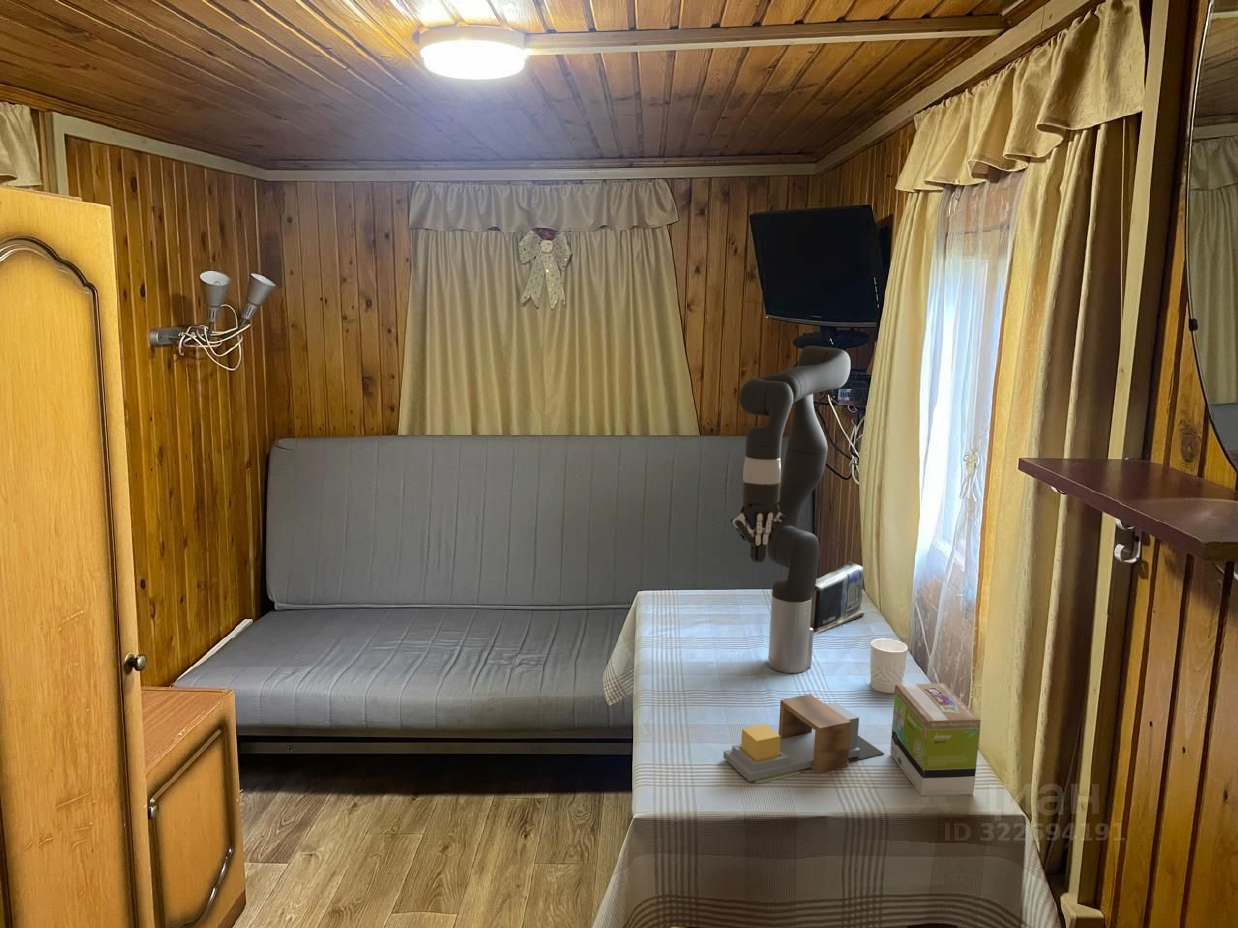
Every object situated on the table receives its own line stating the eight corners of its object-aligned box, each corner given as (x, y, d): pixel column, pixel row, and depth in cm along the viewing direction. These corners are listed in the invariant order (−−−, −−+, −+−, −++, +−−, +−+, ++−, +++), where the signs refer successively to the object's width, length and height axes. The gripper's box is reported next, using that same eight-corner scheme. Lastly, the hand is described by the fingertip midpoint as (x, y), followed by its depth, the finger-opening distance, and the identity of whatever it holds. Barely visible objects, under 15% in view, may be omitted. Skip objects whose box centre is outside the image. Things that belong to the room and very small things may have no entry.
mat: (768, 748, 170) (768, 747, 170) (799, 773, 161) (799, 772, 161) (728, 757, 167) (728, 756, 167) (757, 783, 158) (757, 782, 158)
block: (763, 748, 167) (765, 723, 166) (778, 761, 162) (780, 735, 161) (740, 753, 165) (742, 728, 164) (755, 766, 160) (756, 740, 159)
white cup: (906, 683, 201) (909, 642, 199) (901, 697, 194) (905, 654, 192) (870, 677, 204) (874, 636, 203) (864, 690, 197) (868, 647, 196)
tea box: (887, 754, 169) (893, 681, 167) (938, 753, 170) (945, 681, 168) (920, 797, 155) (927, 718, 152) (975, 796, 156) (983, 717, 153)
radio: (812, 636, 229) (816, 581, 226) (788, 626, 236) (791, 572, 233) (870, 619, 243) (874, 566, 240) (845, 610, 250) (849, 559, 247)
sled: (830, 734, 176) (832, 699, 174) (859, 755, 168) (862, 719, 166) (723, 757, 166) (725, 721, 164) (749, 781, 158) (751, 743, 156)
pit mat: (850, 730, 178) (850, 729, 178) (883, 754, 169) (883, 753, 169) (817, 737, 175) (817, 736, 175) (850, 761, 166) (850, 760, 166)
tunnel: (807, 736, 176) (810, 694, 174) (847, 766, 164) (851, 721, 163) (778, 742, 173) (780, 699, 171) (816, 773, 162) (819, 728, 160)
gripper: (778, 473, 185) (774, 553, 189) (724, 477, 180) (720, 559, 183) (799, 480, 179) (794, 563, 182) (743, 484, 173) (739, 569, 176)
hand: (757, 561), depth 182 cm, fingers closed
